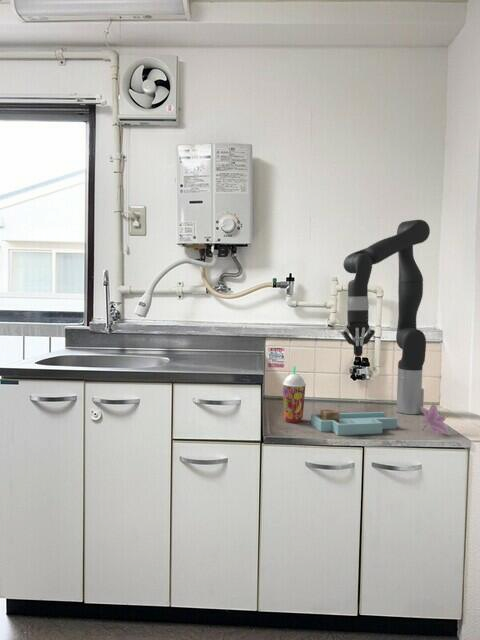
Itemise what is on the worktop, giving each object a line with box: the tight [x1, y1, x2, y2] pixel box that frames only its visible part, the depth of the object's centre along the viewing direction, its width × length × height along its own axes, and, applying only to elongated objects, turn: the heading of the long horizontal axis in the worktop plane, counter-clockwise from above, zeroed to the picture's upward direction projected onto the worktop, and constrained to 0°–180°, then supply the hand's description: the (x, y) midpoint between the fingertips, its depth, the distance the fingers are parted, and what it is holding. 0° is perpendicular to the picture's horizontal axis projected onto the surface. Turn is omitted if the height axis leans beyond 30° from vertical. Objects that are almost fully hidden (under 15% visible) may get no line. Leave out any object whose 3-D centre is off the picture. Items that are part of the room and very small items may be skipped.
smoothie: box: [282, 365, 307, 424], centre depth 190 cm, size 8×8×20 cm
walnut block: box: [320, 408, 340, 423], centre depth 183 cm, size 5×5×4 cm
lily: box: [420, 401, 451, 438], centre depth 178 cm, size 12×12×10 cm
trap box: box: [310, 411, 398, 436], centre depth 182 cm, size 28×15×4 cm, turn 102°
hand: (358, 356), depth 192 cm, fingers closed
